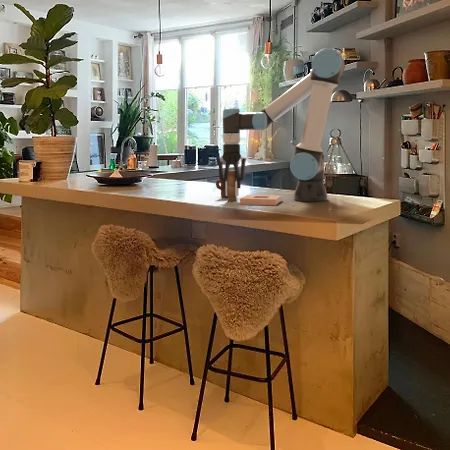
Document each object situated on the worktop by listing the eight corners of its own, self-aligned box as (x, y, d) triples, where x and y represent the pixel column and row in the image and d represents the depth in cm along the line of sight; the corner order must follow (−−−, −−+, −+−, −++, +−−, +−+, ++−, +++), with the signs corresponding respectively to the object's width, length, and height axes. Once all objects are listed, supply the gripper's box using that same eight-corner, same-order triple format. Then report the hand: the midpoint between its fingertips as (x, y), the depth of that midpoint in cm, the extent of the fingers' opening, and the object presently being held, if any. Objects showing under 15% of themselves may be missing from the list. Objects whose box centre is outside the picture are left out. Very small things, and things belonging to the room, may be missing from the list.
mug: (222, 199, 248) (221, 179, 247) (211, 198, 254) (210, 178, 252) (239, 196, 257) (239, 177, 255) (228, 195, 262) (228, 176, 260)
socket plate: (247, 200, 244) (247, 194, 244) (281, 201, 240) (281, 195, 239) (239, 204, 231) (239, 198, 230) (275, 205, 226) (275, 199, 226)
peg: (229, 200, 243) (228, 170, 241) (237, 200, 242) (237, 170, 240) (226, 201, 240) (226, 170, 237) (235, 201, 239) (234, 170, 236)
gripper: (210, 143, 235) (211, 196, 239) (247, 143, 231) (248, 197, 235) (215, 143, 242) (216, 194, 246) (251, 143, 238) (252, 195, 242)
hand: (232, 195), depth 241 cm, fingers closed on peg, 4 cm apart
